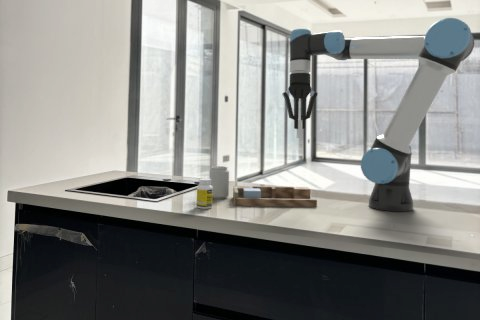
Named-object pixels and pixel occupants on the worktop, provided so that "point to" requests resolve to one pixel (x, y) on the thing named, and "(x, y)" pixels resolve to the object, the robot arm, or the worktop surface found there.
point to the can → (219, 182)
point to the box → (275, 197)
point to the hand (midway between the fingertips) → (299, 137)
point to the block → (251, 193)
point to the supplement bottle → (204, 194)
